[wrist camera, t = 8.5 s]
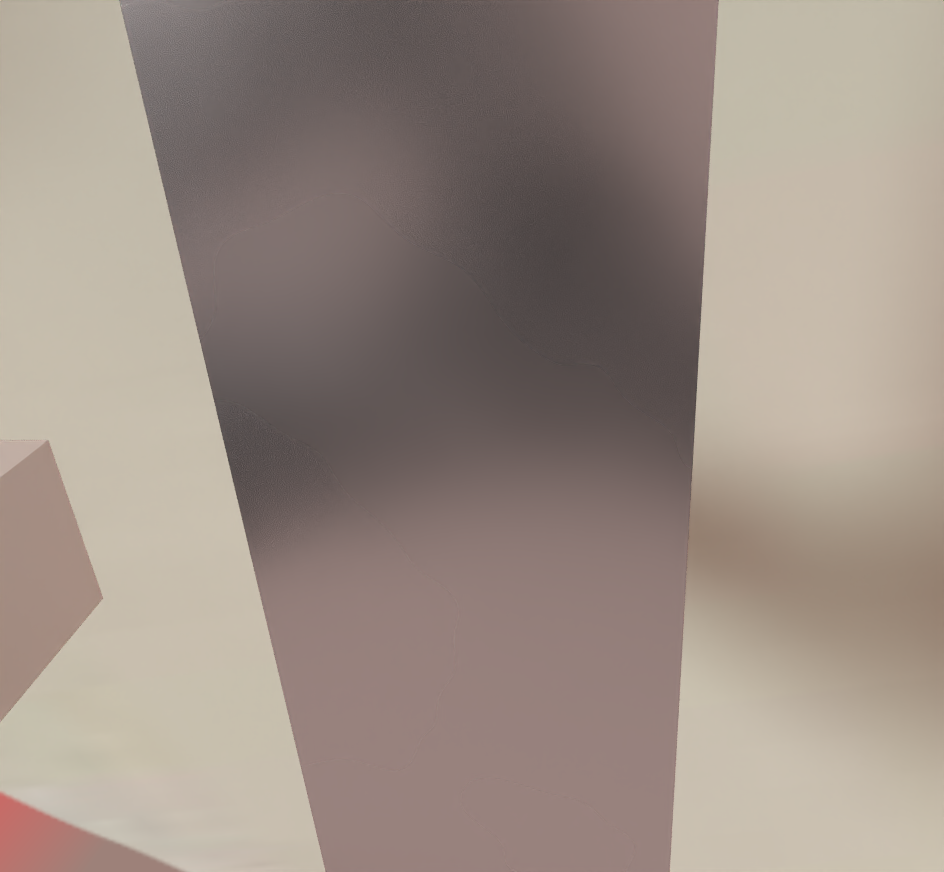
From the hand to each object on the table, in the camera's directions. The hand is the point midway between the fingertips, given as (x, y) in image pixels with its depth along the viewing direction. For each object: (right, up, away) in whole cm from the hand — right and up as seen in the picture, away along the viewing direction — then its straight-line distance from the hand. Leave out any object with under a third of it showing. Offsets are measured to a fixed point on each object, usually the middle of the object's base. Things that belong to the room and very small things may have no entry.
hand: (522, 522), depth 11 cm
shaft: (-1, +8, -6) cm, 10 cm away
